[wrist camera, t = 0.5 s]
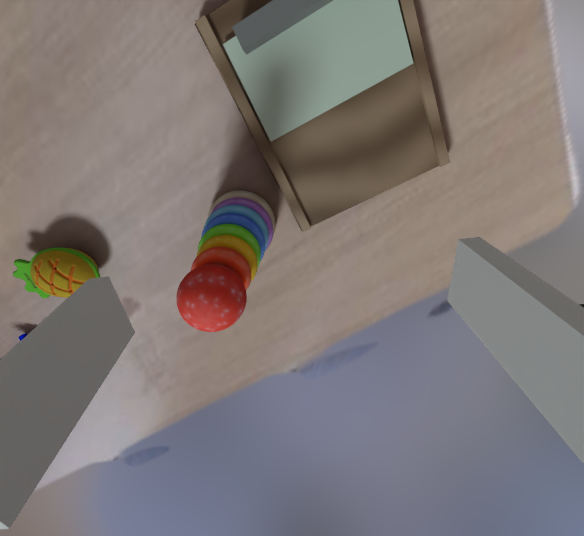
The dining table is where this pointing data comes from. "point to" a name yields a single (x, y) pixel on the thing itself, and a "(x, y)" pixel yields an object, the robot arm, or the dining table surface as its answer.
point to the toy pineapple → (56, 271)
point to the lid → (315, 56)
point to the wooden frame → (342, 128)
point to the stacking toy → (226, 261)
